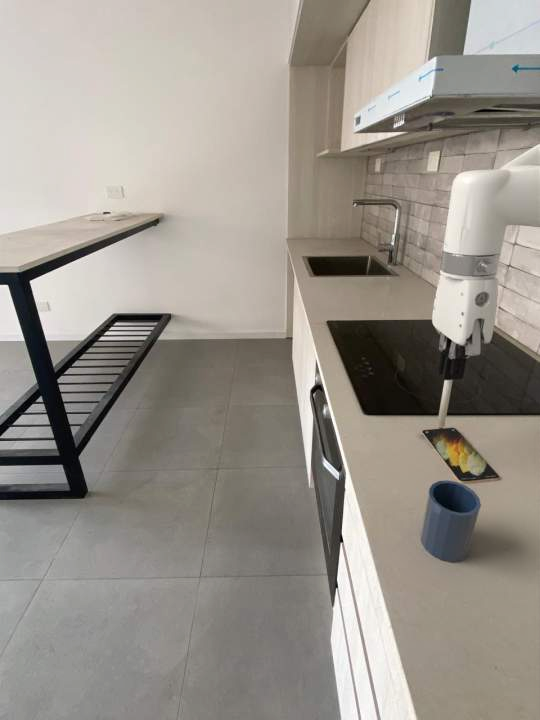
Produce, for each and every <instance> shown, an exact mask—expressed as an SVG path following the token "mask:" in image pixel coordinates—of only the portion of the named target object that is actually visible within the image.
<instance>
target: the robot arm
mask: <svg viewBox="0 0 540 720" xmlns="http://www.w3.org/2000/svg"><path fill="white" fill-rule="evenodd" d="M447 213H448V214H447V219H446V225H445V226H446V227H445V233H444V239H443V246H442V247H443V248H442V254H441V259H440V260H441V261H440V268H439V274H440V275H439V279H438V283H437V287H436V292H435V295H434V302H433V307H432V315H431V316H432V317H431V323H432V325H433V327H434V328H435V331H436V333H438V337H439V343H438V344H439V345H438V349H439V357H438V363H437V368H436V373H437V374H438V375H440V376H441V375H442V379H443V380H444V381H445V380H453V381H454V380H455V381H456V380H462V379H464V374H465V370H466V364H467V359H469V358H470V357H473V356H474V357H475V356H480V355H481V344H485V345H488V344H490V343H491V341H492V338H493V334H494V329H495V321H496V317H497V309H498V308H497V306H498V295H499V281H498V278H497V274H498V269H499V265H500V259H501V254H502V249H503V245H504V240H505V236H506V235H505V234H506V231H507V227H508V226H522V227H523V226H524V227H532V228H533V227H534V228H540V143H539V144H537V145H535V146H533V147H532V148H530V149H529V150H526V151H525V152H524V153H522V154H520V155H518V156H517V157H516V158H514V159H512V160H511V161H509V162H507V163H506V164H504V165H503V166H501V167H500V168H499V169H472V170H465V171H462V172H459V173H458V174H457V175H456V176H455V177H454V179H453V181H452V185H451V190H450V198H449V205H448V212H447ZM449 351H450V352H449Z"/></svg>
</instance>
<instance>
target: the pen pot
mask: <svg viewBox="0 0 540 720" xmlns="http://www.w3.org/2000/svg"><path fill="white" fill-rule="evenodd" d="M480 499H481V498H480V497H479V496H478V494H477V493H476V492H475V491H474V489H473V490H472V488H470V487H469V486H467V485H465V484H464V483H460V482H458V481H453V480H447V479H446V480H438V481H435V482H434V483H432V484H431V485H430V487H429V489H428V492H427V498H426V503H425V507H424V514H423V520H422V524H421V530H420V542H421V545H422V546H423V548H424V549H425V551H426V552H428V553H429V554H430V555H431V556H432V557H434V558H435V559H437V560H440V561H443V562H445V563H458V562H461V561H464V560H465V559H466V558H467V556H468V554H469V552H470V548H471V545H472V541H473V537H474V533H475V529H476V525H477V522H478V519H479V515H480V511H481V507H482V504H481V500H480Z"/></svg>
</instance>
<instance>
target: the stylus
mask: <svg viewBox="0 0 540 720" xmlns="http://www.w3.org/2000/svg"><path fill="white" fill-rule="evenodd" d="M449 352H450V351H449ZM453 381H454V380H444V381H443V388H442V392H441V393H442V394H441V399H440V405H439V411H438V417H437V422H436V423H437V424H436V425H437V427H438V429H442V428H445V426H446V420H447V416H448V415H447V414H448V409H449V402H450V397H451V391H452V385H453Z"/></svg>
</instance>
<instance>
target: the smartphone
mask: <svg viewBox="0 0 540 720" xmlns="http://www.w3.org/2000/svg"><path fill="white" fill-rule="evenodd" d="M421 434H422V435H423V437H424V438H425V439H426V441H427V442H428V444H429V445H430V446H431V447H432V449H433V450H434V451H435V453H437V455H438V456H439V458H440V459H441V460H442V462H443V463H444V464H445V466H446V467H447V468H448V470H449V471H450V473H451V474H452V475H453V476H454V478H455V479H456V482H458V483H460V484H473V483H483V482H485V483H486V482H493V481H495V482H496V481H498V480H499V478H500V475H499V474H498V473H497V472H496V471H495V470H494V469H493V467H492V466H491V465H490V464H489V463H488V462H487V460H485V459H484V458H483V457H482V456H481V454H480V453H479V452H478V451H477V450H476V449H475V448H474V447H473V446H472V445H471V444H470V442H469V441H468V440H467V439H466V438H465V437H464V436H463V435H462V433H461V432H460V431H459V430H458V429H457V428H455V427H446V428H445V427H443V428H442V429H440V428H432V429H431V428H430V429H423V430H422V431H421Z"/></svg>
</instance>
